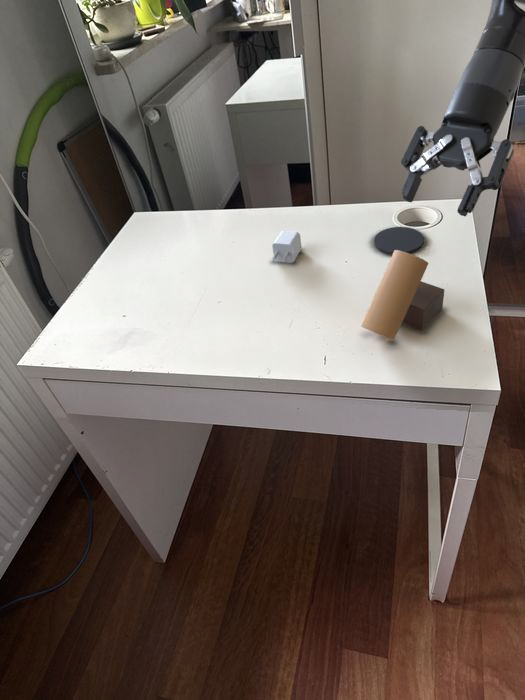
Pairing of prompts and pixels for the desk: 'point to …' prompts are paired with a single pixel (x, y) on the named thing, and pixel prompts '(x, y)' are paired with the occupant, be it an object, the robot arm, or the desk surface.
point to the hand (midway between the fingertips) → (433, 207)
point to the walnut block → (424, 306)
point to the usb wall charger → (286, 246)
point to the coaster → (398, 240)
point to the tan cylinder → (394, 294)
